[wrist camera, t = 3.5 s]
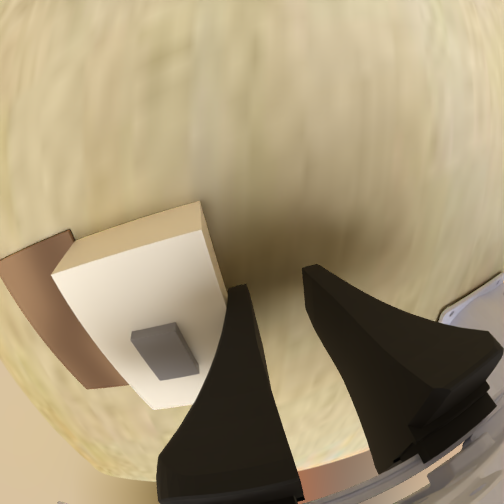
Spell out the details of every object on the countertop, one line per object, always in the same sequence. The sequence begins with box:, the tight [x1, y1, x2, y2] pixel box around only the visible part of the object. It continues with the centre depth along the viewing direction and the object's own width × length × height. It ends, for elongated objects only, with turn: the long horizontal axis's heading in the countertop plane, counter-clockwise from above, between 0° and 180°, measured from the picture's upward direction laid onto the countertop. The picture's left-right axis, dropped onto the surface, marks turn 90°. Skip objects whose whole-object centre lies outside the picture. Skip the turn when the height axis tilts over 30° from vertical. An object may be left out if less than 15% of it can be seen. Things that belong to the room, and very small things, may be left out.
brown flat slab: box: [0, 229, 129, 389], centre depth 10 cm, size 5×9×1 cm, turn 11°
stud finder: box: [51, 201, 228, 410], centre depth 10 cm, size 5×8×3 cm, turn 11°
